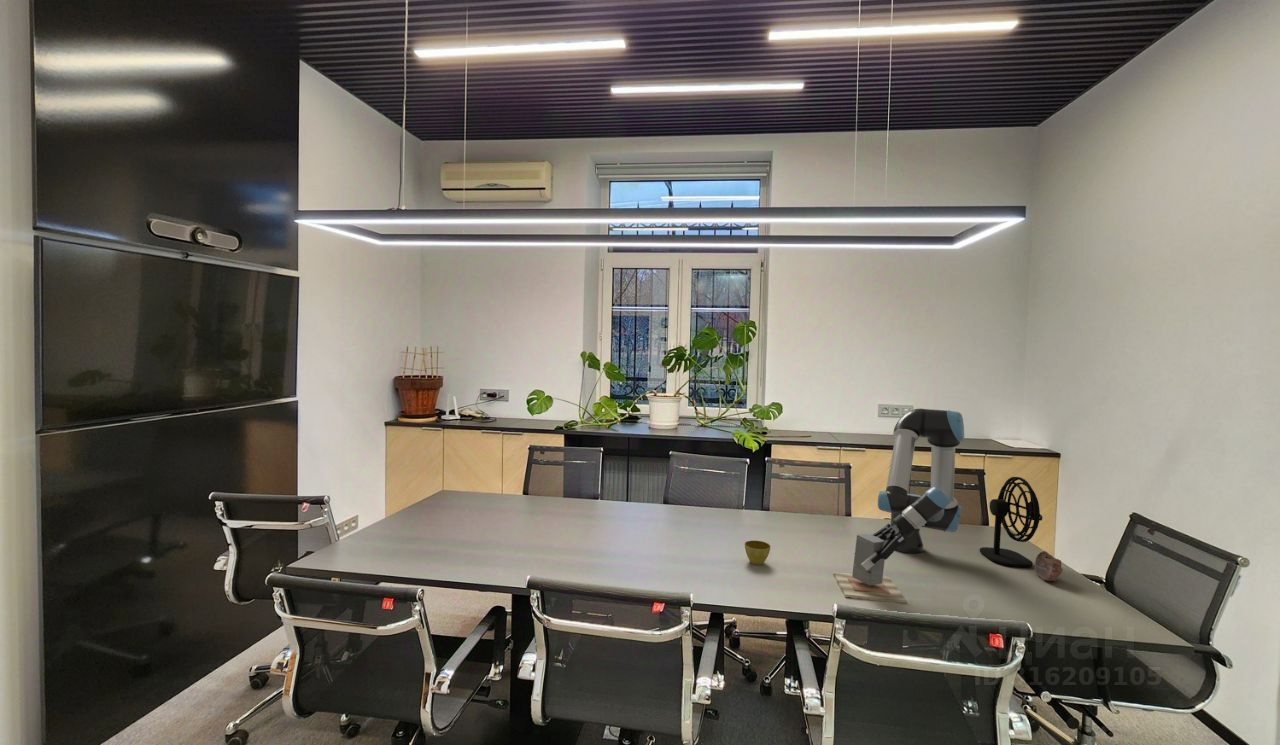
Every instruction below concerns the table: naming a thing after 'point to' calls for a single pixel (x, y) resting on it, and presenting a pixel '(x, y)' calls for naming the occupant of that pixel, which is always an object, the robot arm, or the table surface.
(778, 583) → the table surface
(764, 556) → the flower pot
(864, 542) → the skincare box
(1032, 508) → the desk fan
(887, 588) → the seat board
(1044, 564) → the stone
